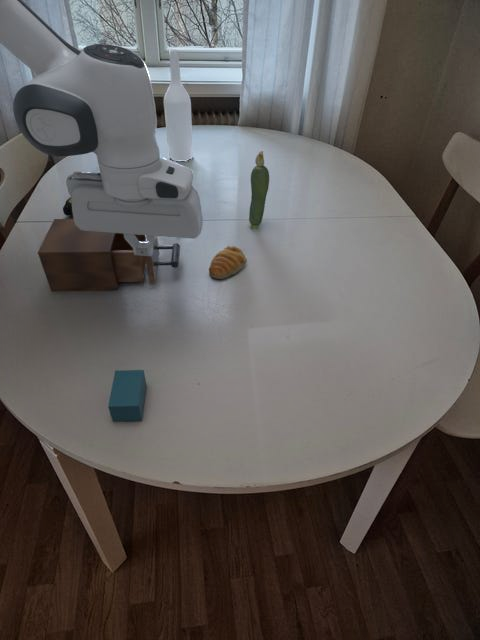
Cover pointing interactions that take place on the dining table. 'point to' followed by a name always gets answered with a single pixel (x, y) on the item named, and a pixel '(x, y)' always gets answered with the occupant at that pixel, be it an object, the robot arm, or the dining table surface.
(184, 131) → the bottle
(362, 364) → the dining table surface
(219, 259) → the pastry
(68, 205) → the tape measure
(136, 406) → the teal block
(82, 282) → the cabinet
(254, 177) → the vegetable
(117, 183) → the robot arm
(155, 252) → the drawer
